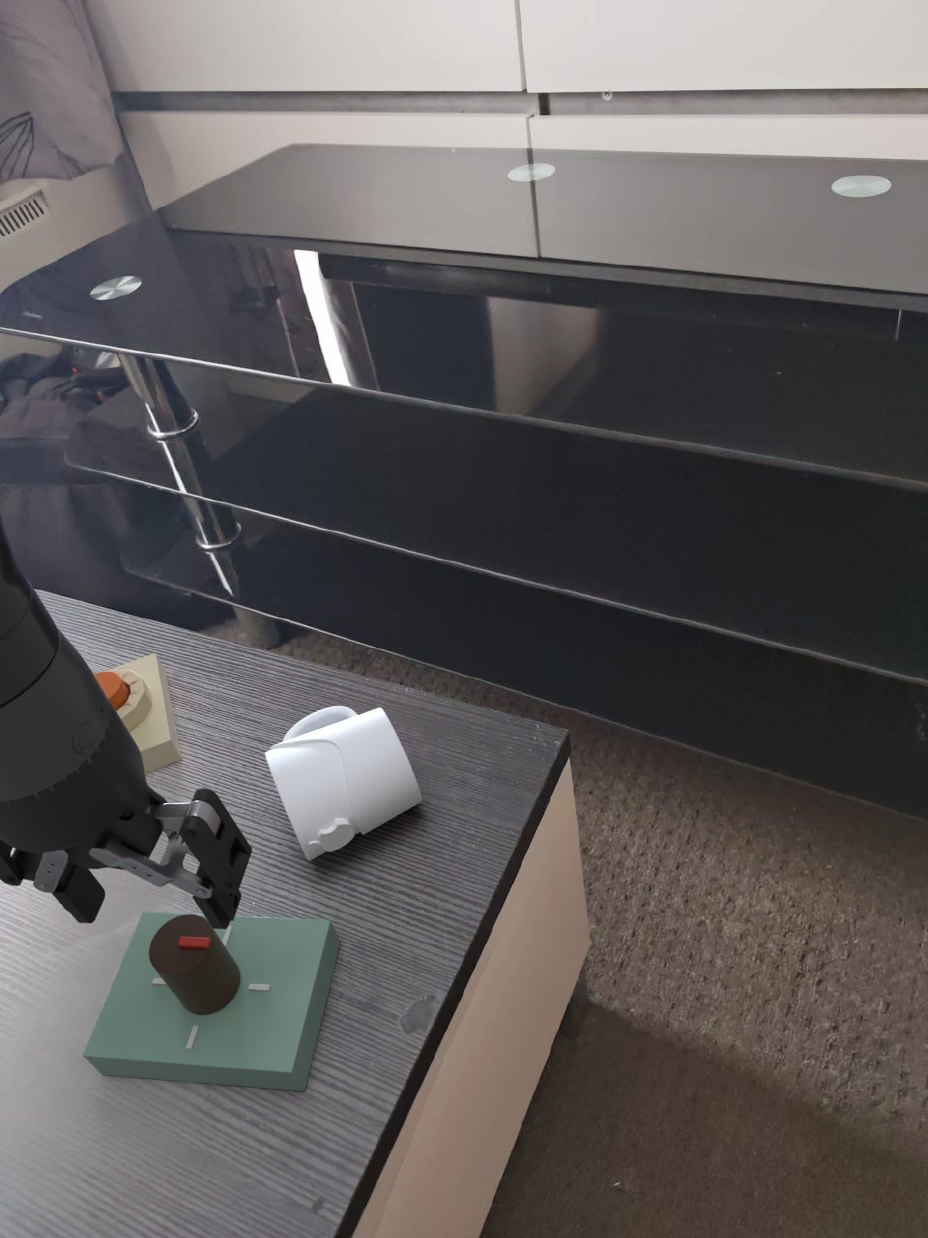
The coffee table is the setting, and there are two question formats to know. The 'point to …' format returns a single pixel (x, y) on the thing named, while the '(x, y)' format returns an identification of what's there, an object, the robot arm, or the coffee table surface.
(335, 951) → the dial panel
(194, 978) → the dial knob
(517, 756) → the coffee table surface
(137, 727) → the base
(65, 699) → the robot arm
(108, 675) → the orange push button
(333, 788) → the mug
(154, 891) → the coffee table surface
